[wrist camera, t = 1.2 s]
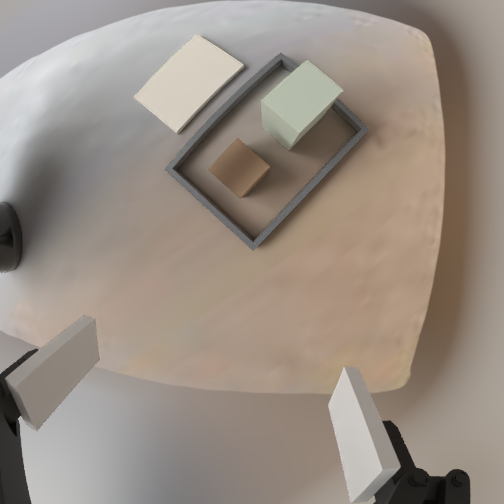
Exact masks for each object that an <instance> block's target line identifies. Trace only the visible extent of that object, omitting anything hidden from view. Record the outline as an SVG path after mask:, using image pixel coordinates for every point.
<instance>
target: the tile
mask: <svg viewBox="0 0 504 504" xmlns="http://www.w3.org/2000/svg"><path fill="white" fill-rule="evenodd" d="M243 68H244V65H243V64H242V63H241V62H239V61H238V60H236V59H235V58H233V57H232V56H230V55H229V54H227V53H226V52H224V51H223V50H221V49H220V48H218V47H217V46H215V45H214V44H212V43H210V42H209V41H207V40H206V39H204V38H202V37H201V36H199V35H197V34H196V35H195V36H194V37H193V38H192V39H191V40H189V41H188V42H187V43H186V44H185V45H184V46H183V47H182V48H181V49H179V50H178V51H177V52H176V53H175V54H174V55H173V56H172V57H171V58H170V59H169V60H168V61H167V62H166V63H165V64H164V65H163V66H162V67H161V68H160V69H159V70H158V71H157V72H156V73H155V74H154V75H153V76H152V77H151V78H150V79H149V81H148V82H147V83H146V84H145V85H144V86H143V87H142V88H141V89H140V90H139V92H138V93H137V94H136V95H135V96H134V98H135V99H136V100H137V101H138V102H140V103H141V104H142V105H143V106H145V107H146V108H147V109H148V110H149V111H151V112H152V113H153V114H154V115H156V116H157V117H158V118H159V119H160V120H162V121H163V122H164V123H165V124H166V125H167V126H169V127H170V128H171V129H172V130H173V131H175V132H176V133H177V134H179V133H180V132H181V130H182V129H183V128H184V127H185V126H186V125H187V124H188V123H189V122H190V121H191V119H192V118H193V117H194V116H195V115H196V114H197V113H198V112H199V111H200V110H201V109H202V108H203V107H204V106H205V105H206V104H207V103H208V102H209V101H210V100H211V99H212V98H213V97H214V96H215V95H216V94H217V93H218V92H219V91H220V90H221V89H222V88H223V87H224V86H225V85H226V84H227V83H228V82H229V81H230V80H231V79H232V78H234V77H235V76H236V75H237V74H238V73H239V72H240V71H241V70H242V69H243Z"/></svg>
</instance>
